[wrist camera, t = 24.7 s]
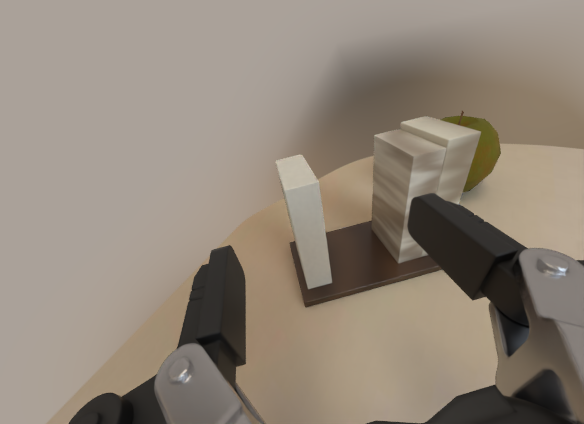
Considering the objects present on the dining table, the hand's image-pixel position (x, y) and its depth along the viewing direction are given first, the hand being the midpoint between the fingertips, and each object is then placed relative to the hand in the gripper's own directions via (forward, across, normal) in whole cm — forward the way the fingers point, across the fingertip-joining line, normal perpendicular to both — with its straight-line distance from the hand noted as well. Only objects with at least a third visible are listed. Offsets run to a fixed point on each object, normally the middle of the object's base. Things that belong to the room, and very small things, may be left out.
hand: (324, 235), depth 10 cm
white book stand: (+10, -7, +14) cm, 18 cm away
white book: (+10, 0, +13) cm, 16 cm away
